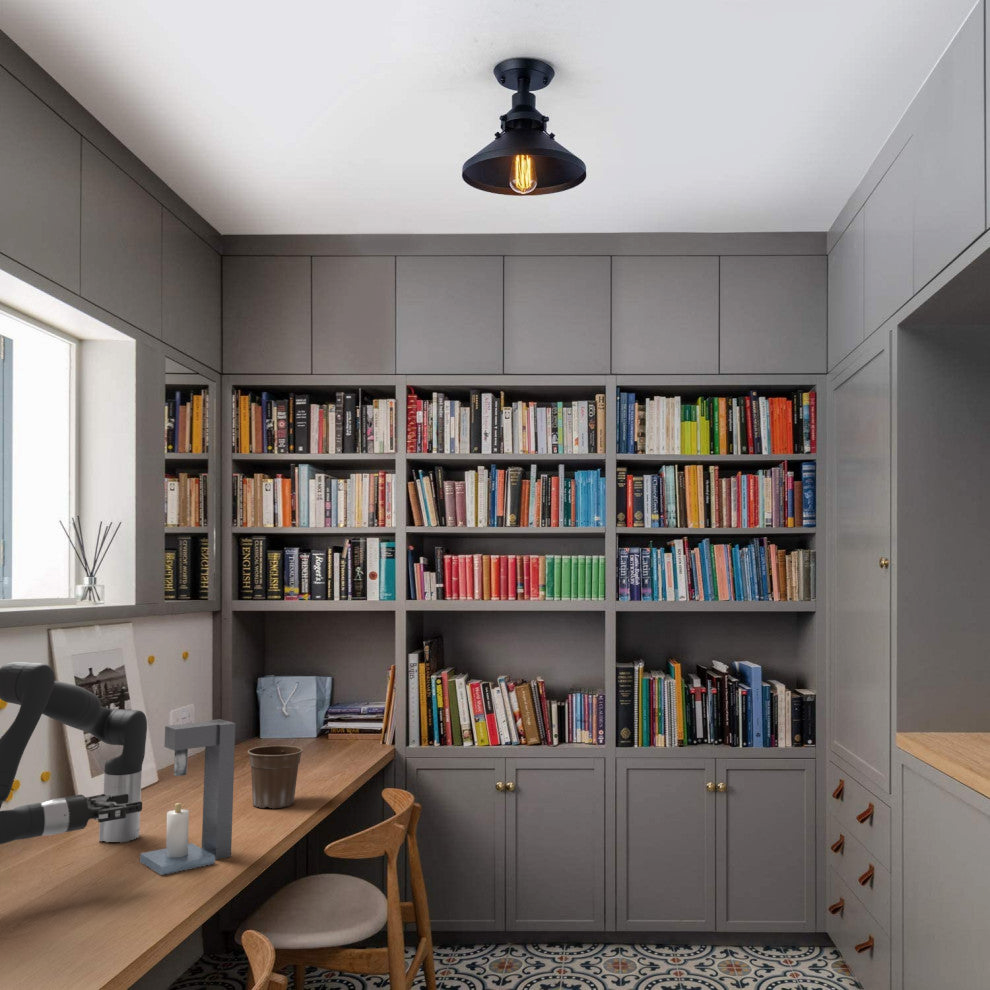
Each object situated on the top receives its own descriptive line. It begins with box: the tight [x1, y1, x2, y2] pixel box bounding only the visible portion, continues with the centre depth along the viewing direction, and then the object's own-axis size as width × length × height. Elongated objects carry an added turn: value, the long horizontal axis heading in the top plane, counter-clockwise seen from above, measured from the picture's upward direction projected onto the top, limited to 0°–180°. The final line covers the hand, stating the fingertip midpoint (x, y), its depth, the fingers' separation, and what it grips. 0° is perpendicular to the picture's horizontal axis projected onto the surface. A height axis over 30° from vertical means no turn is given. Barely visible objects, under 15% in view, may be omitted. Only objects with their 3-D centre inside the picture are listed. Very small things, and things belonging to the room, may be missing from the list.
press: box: [139, 718, 236, 876], centre depth 228 cm, size 18×22×32 cm
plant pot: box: [247, 745, 304, 809], centre depth 277 cm, size 16×16×16 cm
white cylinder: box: [165, 802, 190, 858], centre depth 221 cm, size 5×5×12 cm
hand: (134, 801), depth 215 cm, fingers open, 8 cm apart
